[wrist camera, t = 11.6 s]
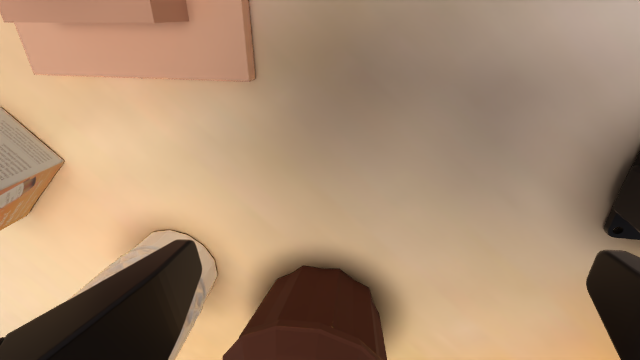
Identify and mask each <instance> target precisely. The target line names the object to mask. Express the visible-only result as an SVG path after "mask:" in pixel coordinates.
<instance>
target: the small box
mask: <svg viewBox="0 0 640 360" xmlns="http://www.w3.org/2000/svg"><path fill="white" fill-rule="evenodd" d="M63 163H64V160H63V159H61V158H60V157H59V156H58V155H57V154H55V153H54V152H53V151H52V150H51V149H49V148H48V147H47V146H46V145H45V144H43V143H42V142H41V141H40V140H39V139H38V138H36V137H35V136H34V135H33V134H32V133H31V132H29V131H28V130H27V129H26V128H25V127H24V126H22V125H21V124H20V123H19V122H18V121H17V120H15V119H14V118H13V117H12V116H11V115H10V114H8V113H7V112H6V111H5V110H4V109H2V108H1V107H0V230H2V229H4V228H5V227H7V226H9V225H11V224H12V223H14V222H16V221H18V220H20V219H21V218H23V217H25V216H27V215H28V213H29V212H30V210H31V208H32V207H33V205H34V203H35V202H36V201H37V199H38V198H39V196H40V195H41V193H42V192H43V191H44V189H45V188H46V186H47V185H48V184H49V182H50V181H51V180H52V178H53V177H54V175H55V174H56V173H57V171H58V170H59V168H60V167H61V166H62V164H63Z"/></svg>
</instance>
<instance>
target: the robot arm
mask: <svg viewBox="0 0 640 360" xmlns="http://www.w3.org/2000/svg"><path fill="white" fill-rule="evenodd" d="M616 227H618V228H617V229H616V230H613V229H614V228H616ZM604 230H605V232H606V233H607V234H608V235H610V236H611V237H615V238H625V239H636V240H640V151H639V153H638V155H637V158H636V160H635V162H634V164H633V166H632V168H631V169H630V171H629V173H628V175H627V177H626V179H625V181H624V184H623V186H622V188H621V190H620V192H619V194H618V196H617V198H616V201H615V203H614V205H613V208H612V210H611V212H610V215H609V217H608V219H607V221H606V223H605V225H604ZM201 274H202V264H201V260H200V257H199V253H198V250H197V247H196V244H195V242H194V241H193V240H187V239H177V240H174V241H172V242H171V243H169V244H167V245H165V246H164V247H162V248H160V249H158V250H156V251H155V252H153V253H151V254H149V255H148V256H146V257H144V258H142V259H140V260H139V261H137V262H135V263H133V264H132V265H130V266H128V267H126V268H124V269H123V270H121V271H119V272H117V273H116V274H114V275H112V276H110V277H108V278H107V279H105V280H103V281H101V282H99V283H98V284H96V285H94V286H92V287H91V288H89V289H87V290H85V291H83V292H82V293H80V294H78V295H76V296H75V297H73V298H71V299H69V300H67V301H66V302H64V303H62V304H60V305H59V306H57V307H55V308H53V309H51V310H50V311H48V312H46V313H44V314H42V315H41V316H39V317H37V318H35V319H34V320H32V321H30V322H28V323H26V324H25V325H23V326H21V327H19V328H18V329H16V330H14V331H12V332H10V333H9V334H7V335H6V337H2V338H0V360H168V359H169V357H170V355H171V353H172V350H173V348H174V346H175V344H176V342H177V340H178V337H179V335H180V333H181V330H182V328H183V325H184V323H185V320H186V317H187V314H188V311H189V308H190V306H191V303H192V300H193V297H194V294H195V292H196V289H197V286H198V283H199V280H200V278H201ZM586 285H587V290H588V293H589V295H590V297H591V299H592V301H593V303H594V305H595V307H596V309H597V311H598V314H599V316H600V318H601V320H602V322H603V324H604V326H605V328H606V330H607V332H608V334H609V337H610V339H611V341H612V343H613V345H614V347H615V349H616V351H617V353H618V355H619V357H620V359H621V360H640V258H639V257H637V256H635V255H633V254H631V253H629V252H626V251H620V250H603V251H600V252H599V253H598V254H597V256H596V258H595V260H594V263H593V265H592V267H591V270H590V272H589V275H588V277H587V281H586Z"/></svg>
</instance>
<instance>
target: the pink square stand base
mask: <svg viewBox="0 0 640 360" xmlns="http://www.w3.org/2000/svg"><path fill="white" fill-rule="evenodd" d="M0 13H1V15H2V18H3V20H4V22H14V24H15V26H16V29H17V31H18V34H19V37H20V39H21V42H22V44H23V47H24V50H25V52H26V55H27V57H28V60H29V63H30V65H31V68H32V71H33V73H34V75H62V76H93V77H124V78H155V79H186V80H217V81H248V82H249V81H251V80H253V79H255V68H254V57H253V46H252V34H251V23H250V12H249V0H0Z"/></svg>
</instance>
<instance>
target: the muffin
mask: <svg viewBox="0 0 640 360" xmlns="http://www.w3.org/2000/svg"><path fill="white" fill-rule="evenodd" d="M223 360H387V356H386V351H385V345H384V339H383V333H382V328H381V322H380V316H379V313H378V311H377V309H376V307H375V305H374V303H373V301H372V297H371V294H370V290H369V288H368V287H367V286H365V285H363V284H361V283H359V282H357V281H355V280H354V279H352V278H351V277H350V276H348V275H347V274H346V273H344V272H343V271H342V270H340V269H324V268H315V267H309V266H302V267H300V268H299V269H297V270H296V271H294V272H293V273H291V274H289V275H286V276H284V277H281V278H278V279H277V280H276V282H275V283H274V285H273V286H272V288H271V289H270V291H269V292H268V294H267V295H266V297H265V298H264V300H263V301H262V303H261V304H260V306H259V307H258V309H257V310H256V312H255V313H254V315H253V317H252V318H251V320H250V321H249V323H248V324H247V326H246V327H245V329H244V330H243V332H242V333H241V335H240V336H239V339H238V340H237V341H236V342H235V343H234V344H233V346H232V347H231V348H230V349H229V350H228V351H227V352H226V353H225V354H224V355H223Z"/></svg>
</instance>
